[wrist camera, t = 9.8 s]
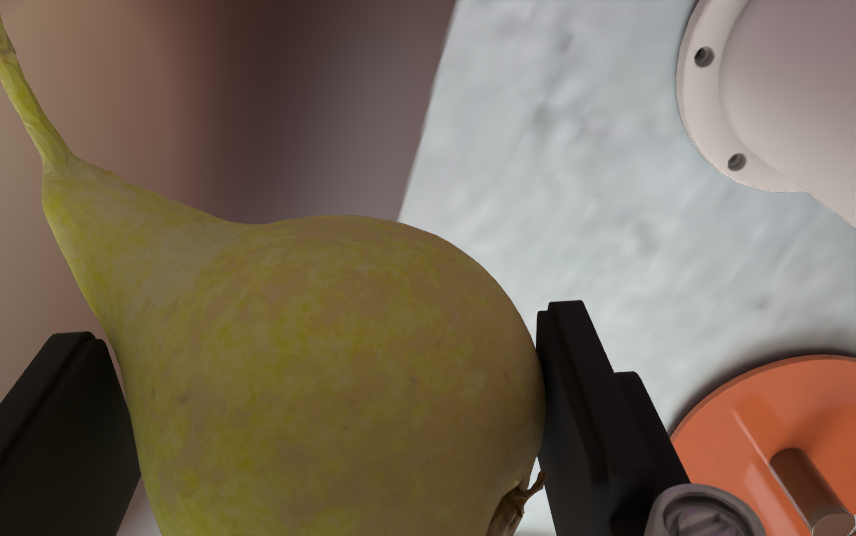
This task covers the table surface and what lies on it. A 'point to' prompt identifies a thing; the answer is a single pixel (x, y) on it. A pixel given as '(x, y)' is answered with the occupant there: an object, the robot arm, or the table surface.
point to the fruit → (299, 361)
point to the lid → (781, 443)
